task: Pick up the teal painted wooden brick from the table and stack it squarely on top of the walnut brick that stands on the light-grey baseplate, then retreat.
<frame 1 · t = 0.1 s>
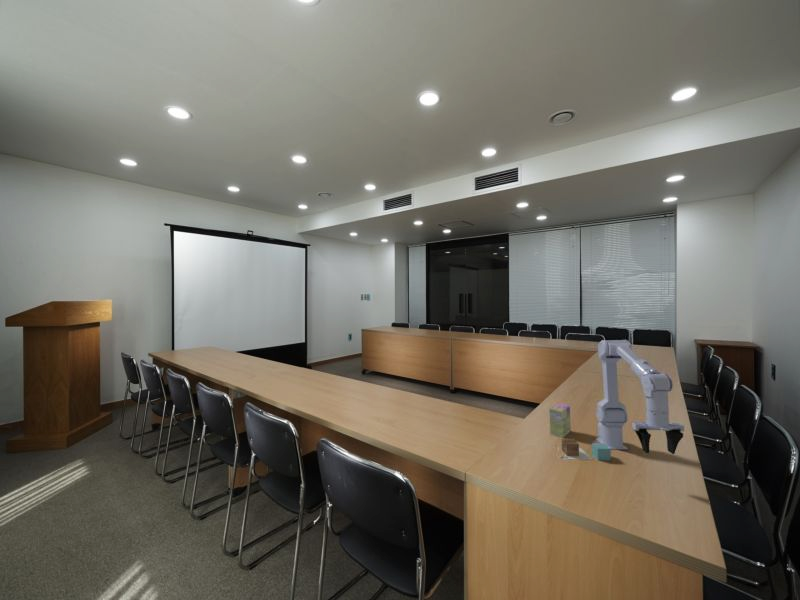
hand: (658, 452, 105), 10 cm above the table, fingers open, 7 cm apart
box: (560, 433, 146), on the table
brick walnut: (570, 453, 127), resting on baseplate
brick teal: (601, 458, 123), on the table
baseplate: (570, 453, 127), on the table
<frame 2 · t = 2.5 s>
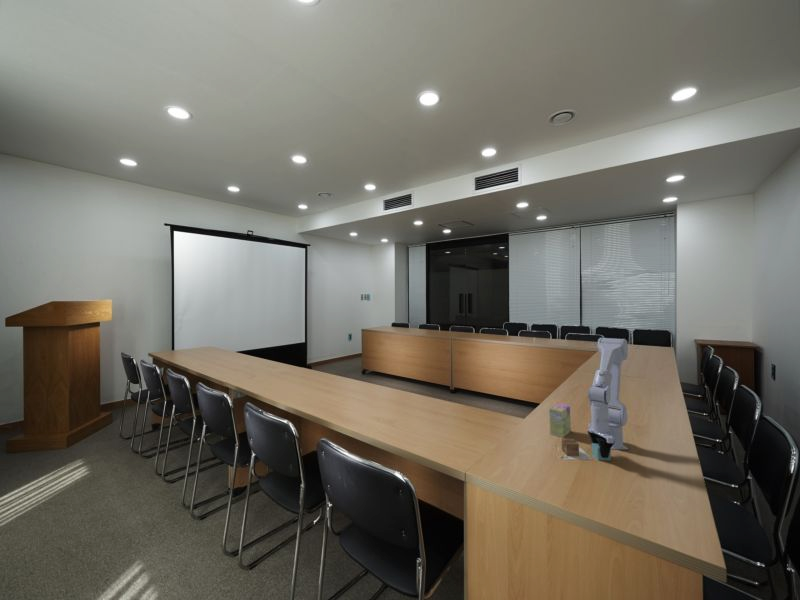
hand: (601, 454, 123), 1 cm above the table, fingers closed on brick teal, 5 cm apart
brick teal: (601, 457, 123), on the table, touching gripper
everything else where it was.
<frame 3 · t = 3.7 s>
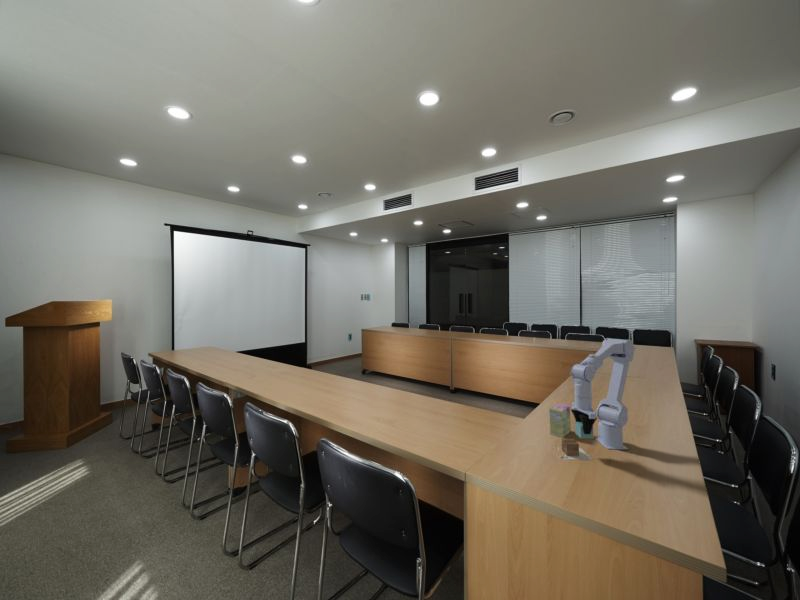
hand: (583, 431, 125), 9 cm above the table, fingers closed on brick teal, 5 cm apart
brick teal: (584, 435, 125), point 8 cm above the table, touching gripper
everything else where it was.
when the fingers open (7 cm above the table, at t = 5.0 s): brick teal stays where it is, resting on brick walnut.
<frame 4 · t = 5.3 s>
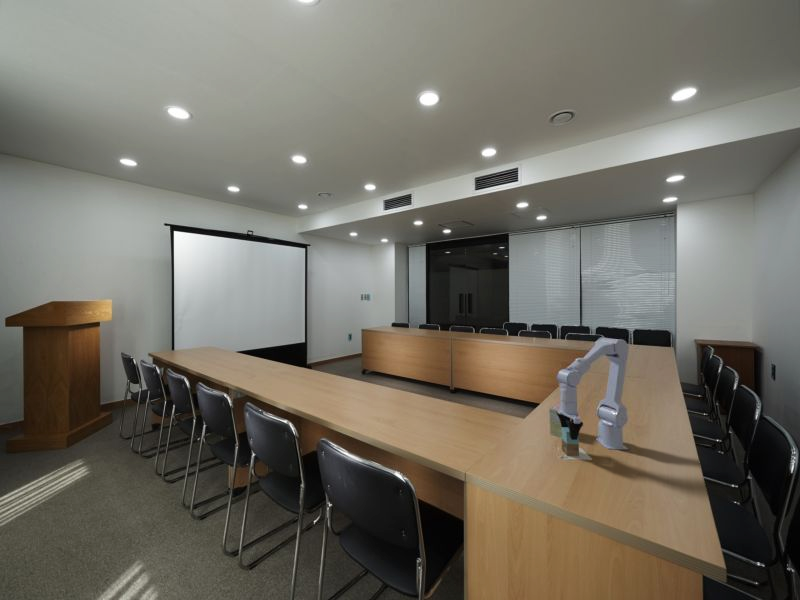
hand: (569, 435, 127), 7 cm above the table, fingers open, 7 cm apart
brick walnut: (570, 453, 127), resting on baseplate, touching brick teal
brick teal: (570, 441, 127), point 5 cm above the table, touching brick walnut
everything else where it was.
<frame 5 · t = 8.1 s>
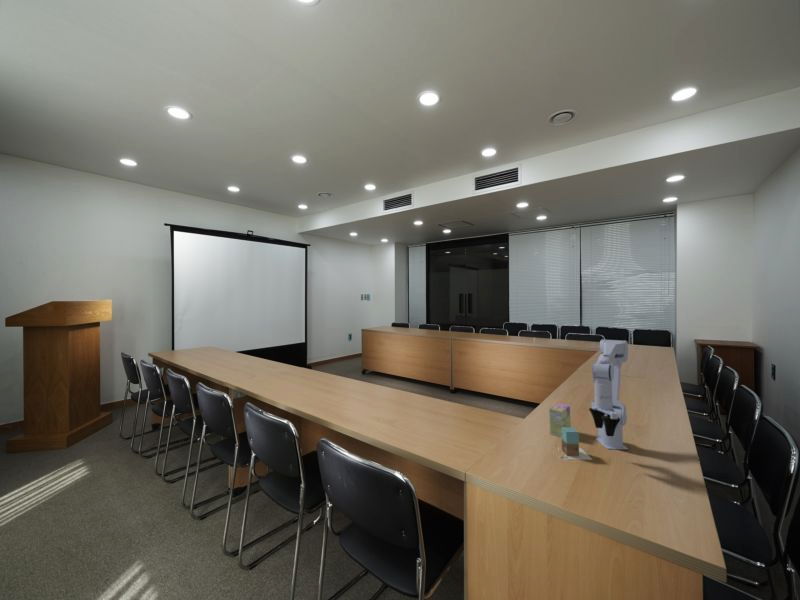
hand: (604, 431, 122), 10 cm above the table, fingers open, 7 cm apart
nothing on the table moved.
at the end: brick teal 0.1 cm off-centre on the brick walnut, point 4.6 cm above the brick walnut's base; brick teal tilted 0°; brick walnut moved 0.0 cm from its start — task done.
